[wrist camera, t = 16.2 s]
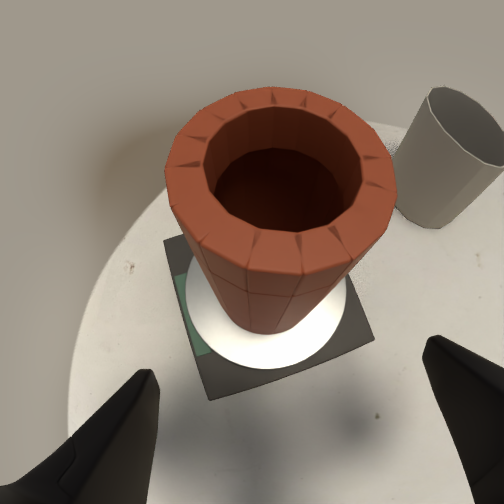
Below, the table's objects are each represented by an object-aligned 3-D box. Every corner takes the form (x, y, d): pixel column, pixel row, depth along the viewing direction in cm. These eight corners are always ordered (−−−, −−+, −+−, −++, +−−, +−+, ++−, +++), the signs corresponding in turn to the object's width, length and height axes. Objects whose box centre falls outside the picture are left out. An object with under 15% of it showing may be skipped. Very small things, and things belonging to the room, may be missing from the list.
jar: (326, 318, 18) (433, 234, 7) (232, 346, 18) (189, 307, 6) (296, 233, 20) (337, 78, 9) (209, 256, 20) (156, 110, 8)
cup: (402, 143, 28) (439, 74, 18) (462, 189, 26) (512, 131, 17) (371, 192, 25) (414, 114, 16) (440, 246, 24) (507, 189, 14)
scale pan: (214, 390, 17) (212, 391, 17) (171, 243, 21) (168, 239, 20) (365, 334, 18) (370, 333, 18) (308, 201, 22) (310, 196, 21)
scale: (213, 397, 20) (208, 401, 17) (170, 252, 24) (162, 238, 21) (363, 342, 21) (376, 339, 18) (307, 210, 25) (312, 193, 22)
